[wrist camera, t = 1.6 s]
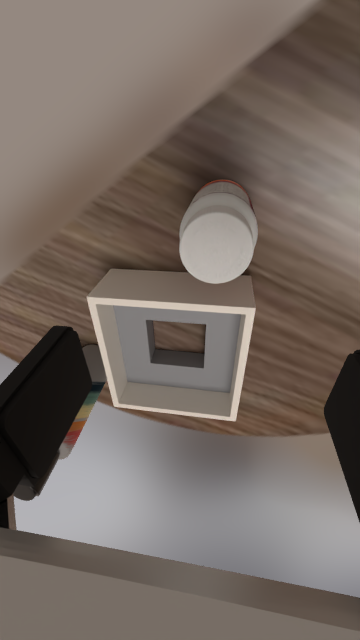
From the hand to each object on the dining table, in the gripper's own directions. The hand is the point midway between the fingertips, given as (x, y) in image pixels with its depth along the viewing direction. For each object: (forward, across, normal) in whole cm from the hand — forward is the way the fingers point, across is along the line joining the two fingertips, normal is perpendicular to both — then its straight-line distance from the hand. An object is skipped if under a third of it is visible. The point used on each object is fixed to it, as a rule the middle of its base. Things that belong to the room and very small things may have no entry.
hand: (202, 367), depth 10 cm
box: (+22, +5, +16) cm, 28 cm away
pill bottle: (+22, 0, 0) cm, 22 cm away
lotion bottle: (+22, +18, +22) cm, 36 cm away
